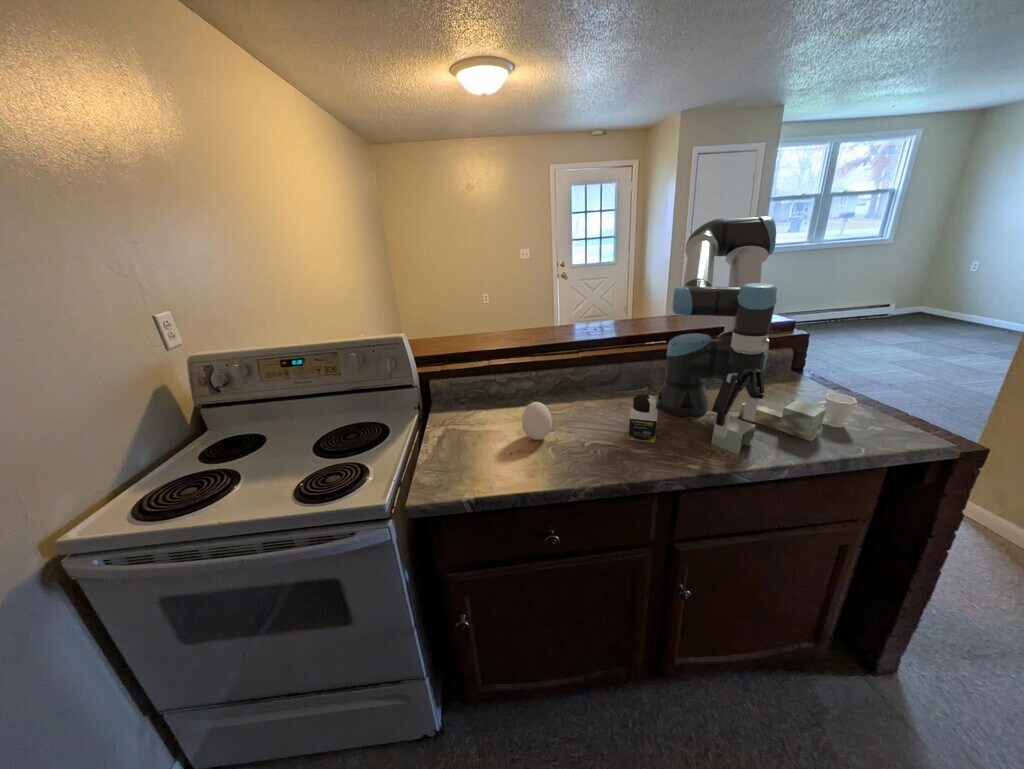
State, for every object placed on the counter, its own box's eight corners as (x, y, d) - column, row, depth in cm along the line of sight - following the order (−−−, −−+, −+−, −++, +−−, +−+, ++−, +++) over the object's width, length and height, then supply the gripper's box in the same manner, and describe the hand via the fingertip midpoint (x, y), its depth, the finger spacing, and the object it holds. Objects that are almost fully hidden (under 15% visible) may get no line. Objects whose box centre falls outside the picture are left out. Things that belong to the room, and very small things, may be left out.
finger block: (711, 443, 107) (714, 423, 105) (725, 434, 111) (729, 415, 108) (738, 454, 101) (742, 434, 99) (753, 445, 105) (757, 425, 103)
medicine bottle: (628, 439, 112) (630, 401, 107) (630, 427, 118) (632, 390, 113) (655, 443, 109) (658, 403, 104) (655, 430, 115) (659, 393, 111)
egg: (518, 443, 113) (516, 407, 109) (528, 429, 121) (526, 395, 116) (547, 447, 110) (546, 411, 106) (555, 432, 118) (555, 397, 113)
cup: (856, 429, 109) (864, 403, 106) (817, 430, 110) (824, 404, 106) (837, 417, 115) (845, 392, 112) (802, 418, 116) (808, 393, 113)
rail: (735, 418, 119) (739, 393, 116) (747, 411, 122) (752, 387, 119) (807, 443, 104) (814, 416, 101) (818, 435, 107) (826, 408, 104)
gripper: (735, 364, 87) (721, 448, 95) (789, 342, 99) (773, 418, 107) (703, 357, 93) (692, 436, 100) (758, 337, 105) (745, 409, 113)
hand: (734, 427), depth 104 cm, fingers open, 13 cm apart
